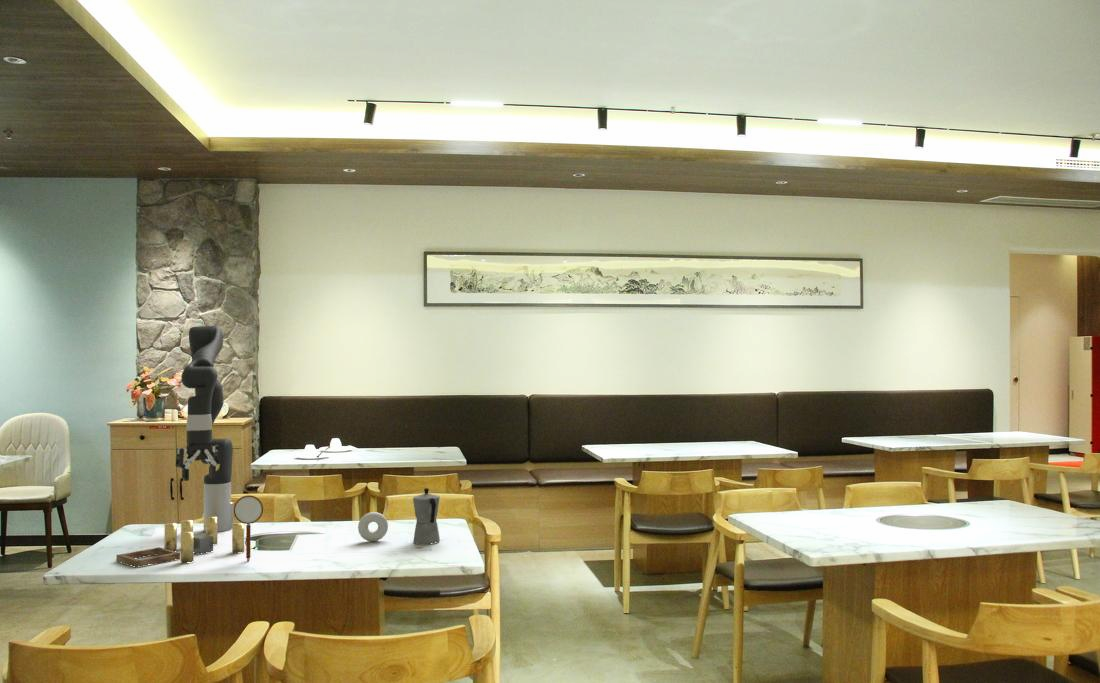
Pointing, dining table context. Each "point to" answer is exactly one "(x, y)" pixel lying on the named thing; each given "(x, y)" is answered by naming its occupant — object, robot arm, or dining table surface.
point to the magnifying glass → (248, 515)
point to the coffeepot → (426, 518)
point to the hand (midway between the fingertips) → (198, 479)
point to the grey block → (203, 544)
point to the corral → (130, 557)
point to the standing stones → (188, 537)
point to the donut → (367, 520)
